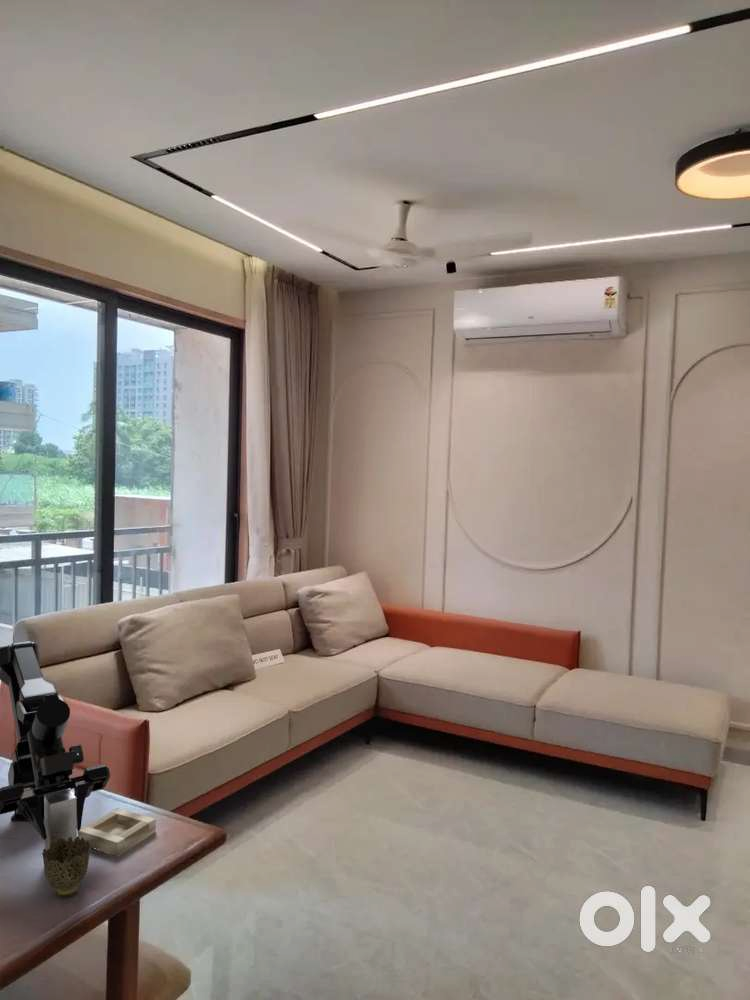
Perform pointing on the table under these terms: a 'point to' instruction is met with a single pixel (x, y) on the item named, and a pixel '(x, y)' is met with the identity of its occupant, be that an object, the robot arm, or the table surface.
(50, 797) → the steel bar
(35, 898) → the table surface
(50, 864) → the cup
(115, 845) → the socket block
